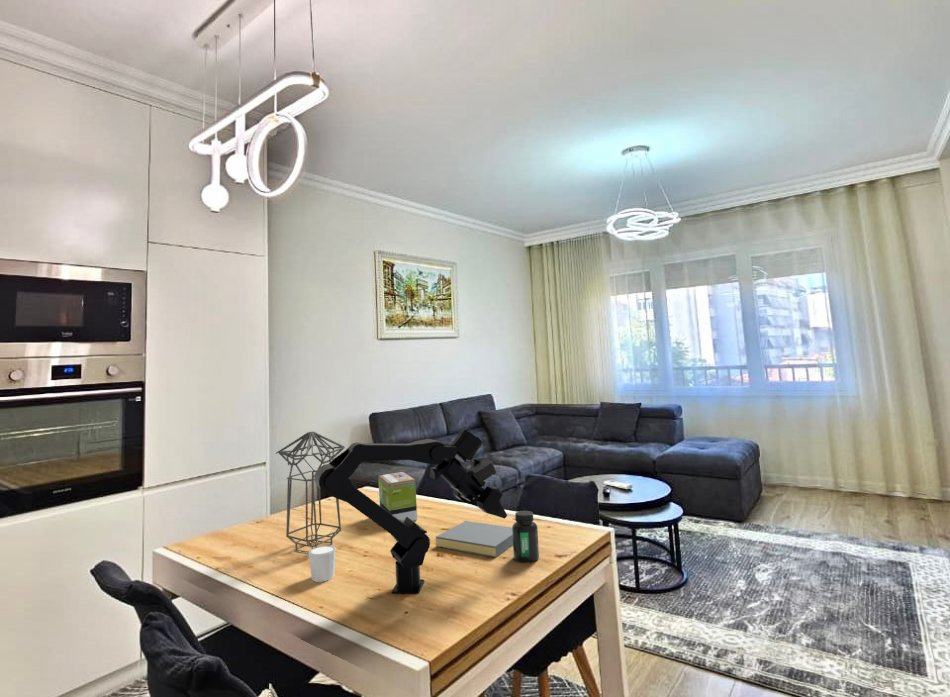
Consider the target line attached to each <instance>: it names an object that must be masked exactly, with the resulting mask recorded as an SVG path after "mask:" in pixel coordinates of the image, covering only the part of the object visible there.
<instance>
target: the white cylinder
mask: <svg viewBox="0 0 950 697" xmlns="http://www.w3.org/2000/svg"><path fill="white" fill-rule="evenodd" d="M308 551H309V552H308V553H307V554H308V560H309V569H310V575H311V581H312V580H313V581H315V582H314V583H324V582H323V581H325V582H328V581H330V579H331V580H332V579H334V578H333V577H335V572H336V568H335V567H336V554H337V553H336V552H337V548H336V546H333V545H330V546H327V545H322V546H321V545H320V546H317V547H316V546H315V547H313V549H312V548H311V549H310V550H308ZM327 580H328V581H327ZM313 581H312V582H313Z"/></svg>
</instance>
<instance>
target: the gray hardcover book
mask: <svg viewBox="0 0 950 697" xmlns="http://www.w3.org/2000/svg"><path fill="white" fill-rule="evenodd" d="M435 547H436V548H440V547H443V548H442V549H446V548H447V549H448V550H451V549H453V550H452V551H458V552H463V553H469V554H476V555H480V556H484V557H491V558H497V557H500V555H501V554H503V553H504V552H505V551H507V550H509V549H510V548H511V547H513V534H512V526H505V525H497V524H490V523H483V522H476V521H468V520H463V522H461V523H459V524H456V525H455V526H453V527H451V528H449V529H447V530H445V531H444V532H442V533H440V534H438V535H436V536H435ZM447 549H446V550H447Z"/></svg>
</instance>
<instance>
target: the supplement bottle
mask: <svg viewBox="0 0 950 697" xmlns="http://www.w3.org/2000/svg"><path fill="white" fill-rule="evenodd" d="M514 516H515V517H514V519H515V522H514V523H513V524H512V526H511V527H512V534H513V545H512V547H513V548H512V550H513V558H514V560H515V561H517V562H520V563H523V562H529V563H534V562H536V561H538V559H539V558H540V551H539V550H540V548H539V533H538V532H539V530H538V529H539V528H538V525H537V523H536V522H534V518H535V517H534V513H533V512H532V511H529V510H518V511H516V512H515V515H514ZM533 561H534V562H533Z"/></svg>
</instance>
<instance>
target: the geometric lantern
mask: <svg viewBox="0 0 950 697" xmlns="http://www.w3.org/2000/svg"><path fill="white" fill-rule="evenodd" d="M317 441H318V442H317ZM328 442H330V443H332V444H334V445H335V446H334V447H333V446H331V444H329V443H328ZM296 443H297V444H296ZM318 443H320V444H318ZM295 444H296V445H295ZM293 445H295V446H294V448H292V449H291V450H287V449H288V448H290V447H291V446H293ZM306 445H307V446H306ZM314 447H316V448H317V450H318V452H314ZM322 448H323V449H325V450H326V452H325V451H324V450H323V449H322ZM344 449H346V446H345V445H342V444H341V443H338V442H336V441H334V440H332V439H330V438H328V437H327V436H326V437H325V436H323V435H322V434H319V433H317V432H315V431H308V432H306V433H305V434H303V435H302V436H300V437H298V438H296V439H295V440H294V441H292V442H290V443H288V444H287V445H285V446H284V447H282V448H281V449H279V450H278V451H276V452H275V454H276V455H277V454H278V455H280V456H281V457H282V458H283V459H284V461H286V462H287V466H290V470H289V475H288V477H286V480H287V498H286V500H287V501H286V502H287V503H286V534H285V535H286V538H288V540H290V541H291V542H293V544H295V549H294V551H295V550H296V551H295V552H299V551H301V552H300V553H306V552H307V554H308V552H309V551H310V550H308V551H306V550H300V548H299V547H301V546H303V547H305V546H306V547H310V548H311V549H313V548H316V547H318V546H319V545H321V544H324V543H325V544H328V545H326V546H333V539H334V538H335V537H336V536H337V535H338V534H339V533H341V532H342V525H341V512H340V510H341V509H340V500H339V499H337V498H335V502H336V512H337V519H338V520H337V521H338V525H334V524H327V523H322V505H321V489H320V488H319V487H318V486H317V489H318V490H317V492H318V493H317V494H318V514H319V522H318V523H317V513H316V512H317V511H316V497H315V484H314V483H315V473H316V471H317V470H315V469H314V468H313V467H312V465H311V464H310V463H309V462H308V461H307V460H306V457H309V456H310V457H314V458H315V459H316V460H317V461H319V462H320V464H319V465H318V468H320V467H321V466H323V465H325V464H328V463H330V462H331V461H332V460H333V459H334V458H335V457H337V456H338V455H340V454H341V453H342V451H344ZM305 450H306V451H305ZM310 450H311V454H309V452H310ZM330 450H332V451H330ZM299 451H300V454H298V453H299ZM304 451H305V453H304V454H303V452H304ZM335 452H336V453H335ZM331 454H332V455H331ZM317 455H319V456H320V458H319V457H318V456H317ZM323 456H324V457H323ZM326 457H327V458H328V460H326ZM289 458H290V459H292V462H291V461H290V459H289ZM325 460H326V461H325ZM295 461H297V462H295ZM302 461H305V463H307V465H308V467H310V469H312V470H308V471H303V472H302V470H301V469H300V467H299V465H298V464H299V463H301V462H302ZM294 466H295V467H296V468H297V471H299V473H297V474H293V475H292V472H293V468H294ZM308 473H311V478H310V479H307V478H306V477H305V474H308ZM300 475H301V477H302V478H301V479H300V478H295V477H296V476H300ZM293 477H294V478H293ZM293 480H294V481H300V482H301V481H302V482H305V526H302V527H300V528H297V529H295V530H291V531H290V521H291V520H290V519H291V504H292V503H291V499H292V485H293V483H292V482H293ZM308 482H311V498H310V499H311V502H310V503H311V504H310V505H311V506H310V507H311V509H310V524H308V523H309V522H308V521H309V520H308V518H309V517H308V515H309V514H308V513H309V511H308V510H309V508H308V507H309V506H308V501H309V500H308V498H309V496H308V495H309V494H308V493H309V492H308V491H309V490H308ZM313 522H314V523H313ZM313 526H314V531H313ZM320 526H326V527H330V528H336V530H335V531H333V532H330V533H327V534H325V535H324V534H318V531H319V528H320ZM309 527H310V531H311V534H310V535H309ZM301 530H305V537H304V538H300V537H296V536H294V535H293V536H292V535H291V534H294V533H297V532H298V531H301ZM313 537H314V538H313ZM309 538H311V539H309ZM324 538H328V539H325V540H321V539H324ZM296 540H297V541H296ZM313 541H316V542H313ZM317 541H318V542H317ZM300 542H306V543H300ZM310 542H312V543H314V545H313V544H311V543H310ZM306 544H307V545H306ZM298 545H299V546H298ZM304 545H305V546H304ZM297 548H299V549H297ZM301 548H302V547H301Z"/></svg>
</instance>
